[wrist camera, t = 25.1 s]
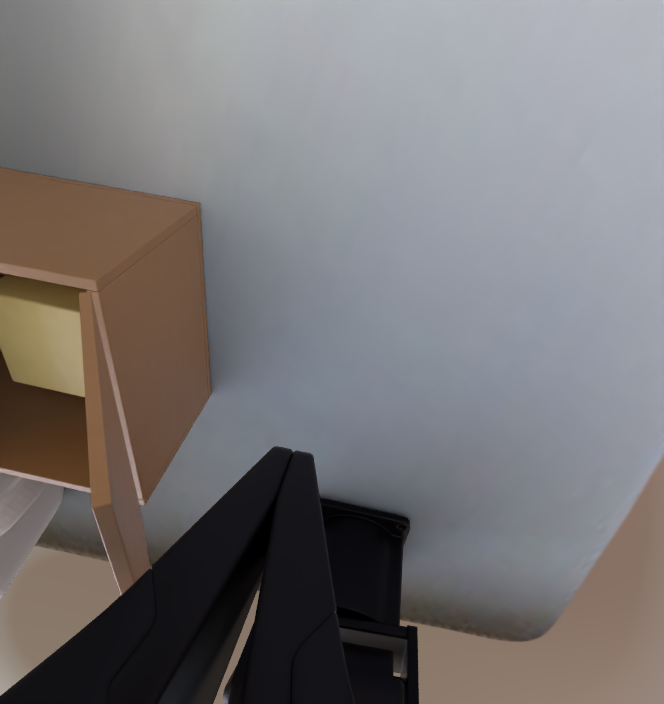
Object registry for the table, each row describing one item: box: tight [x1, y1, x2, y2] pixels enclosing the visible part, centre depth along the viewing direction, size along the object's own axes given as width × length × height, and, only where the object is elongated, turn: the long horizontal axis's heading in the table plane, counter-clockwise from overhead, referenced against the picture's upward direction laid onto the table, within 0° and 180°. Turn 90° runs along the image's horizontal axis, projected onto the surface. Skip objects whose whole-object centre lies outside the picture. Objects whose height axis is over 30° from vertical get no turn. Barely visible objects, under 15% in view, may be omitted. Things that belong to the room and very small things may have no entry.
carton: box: [0, 168, 211, 505], centre depth 19 cm, size 15×11×8 cm
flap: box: [79, 292, 150, 595], centre depth 13 cm, size 7×11×1 cm
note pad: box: [0, 274, 87, 397], centre depth 20 cm, size 5×5×5 cm
